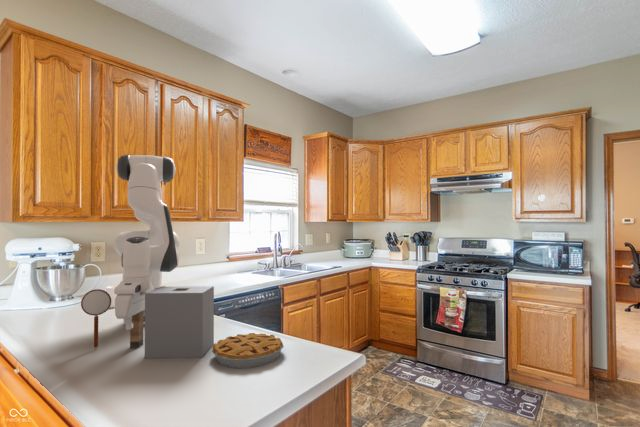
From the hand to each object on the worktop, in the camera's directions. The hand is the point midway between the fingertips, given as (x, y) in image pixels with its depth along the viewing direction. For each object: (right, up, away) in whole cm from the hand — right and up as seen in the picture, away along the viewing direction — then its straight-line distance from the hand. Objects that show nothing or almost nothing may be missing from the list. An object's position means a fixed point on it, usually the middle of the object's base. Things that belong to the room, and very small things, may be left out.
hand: (136, 325), depth 122 cm
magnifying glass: (-12, -7, -3) cm, 14 cm away
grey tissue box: (+17, -7, -5) cm, 19 cm away
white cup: (-42, -10, +60) cm, 74 cm away
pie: (+40, -7, -10) cm, 42 cm away
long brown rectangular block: (0, -7, 0) cm, 7 cm away
